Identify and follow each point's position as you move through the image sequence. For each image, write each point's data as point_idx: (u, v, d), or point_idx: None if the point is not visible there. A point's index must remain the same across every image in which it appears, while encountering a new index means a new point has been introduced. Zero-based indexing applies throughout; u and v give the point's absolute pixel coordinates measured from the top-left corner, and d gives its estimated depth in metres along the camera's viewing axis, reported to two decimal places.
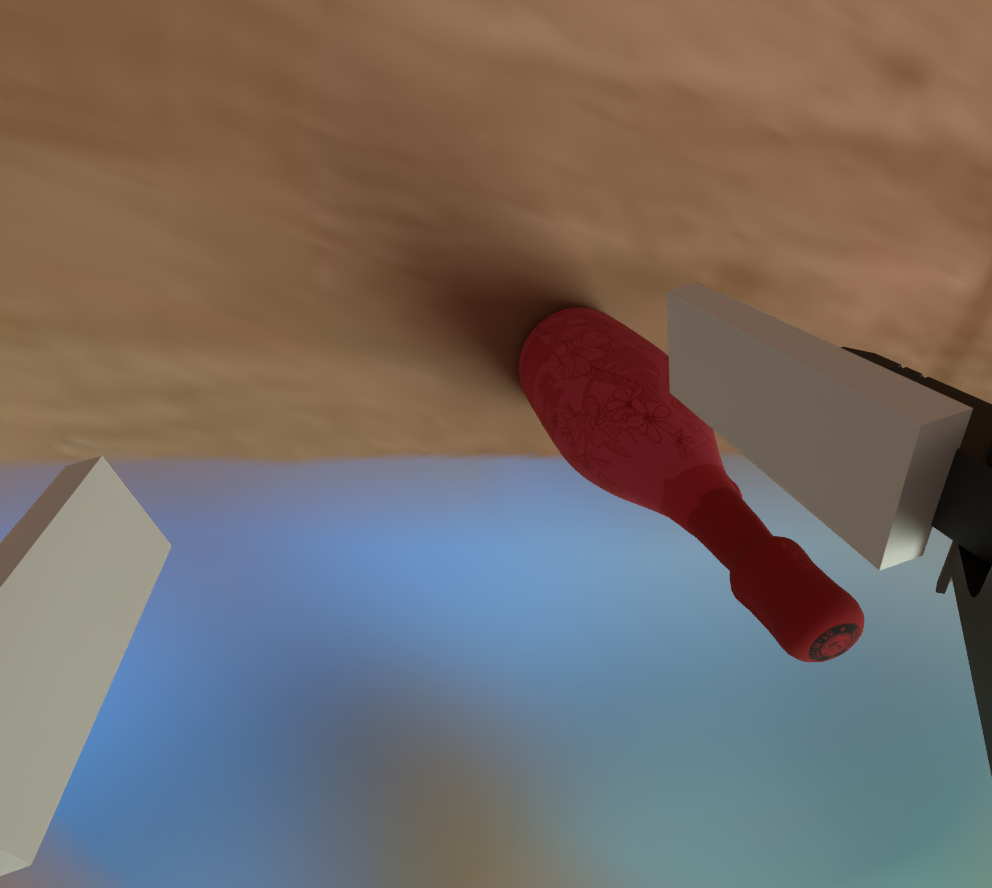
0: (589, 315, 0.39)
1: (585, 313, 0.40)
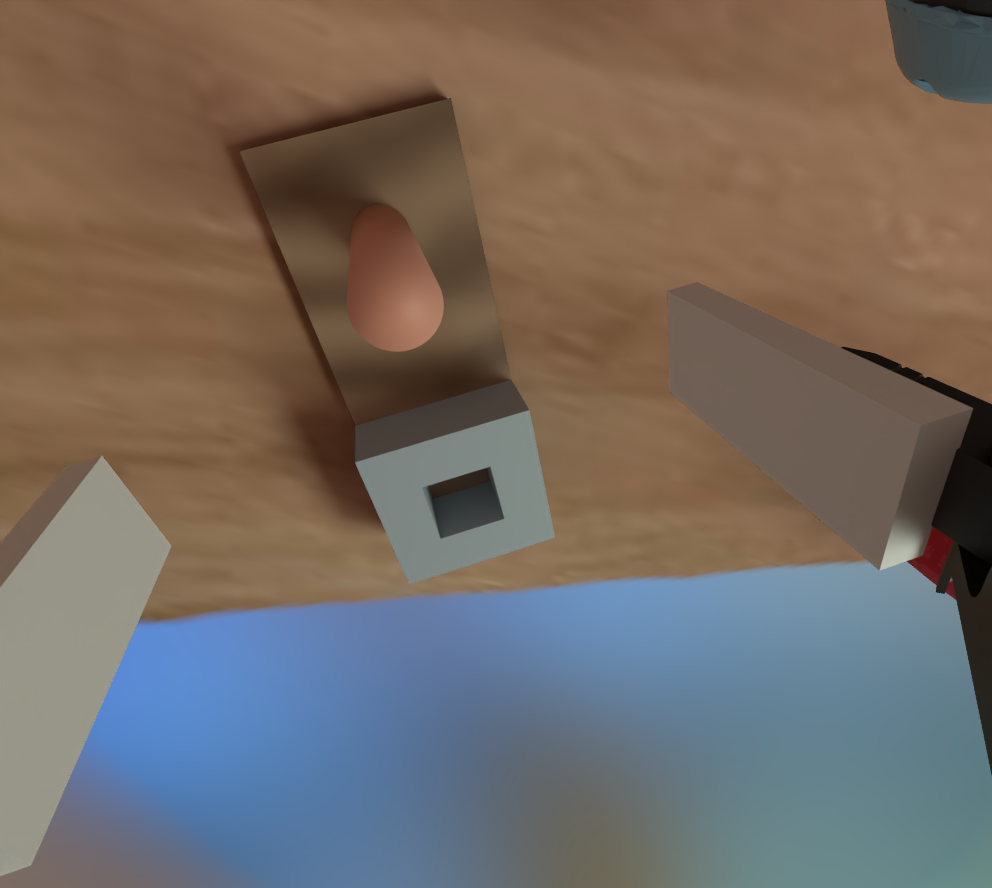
0: None
1: None
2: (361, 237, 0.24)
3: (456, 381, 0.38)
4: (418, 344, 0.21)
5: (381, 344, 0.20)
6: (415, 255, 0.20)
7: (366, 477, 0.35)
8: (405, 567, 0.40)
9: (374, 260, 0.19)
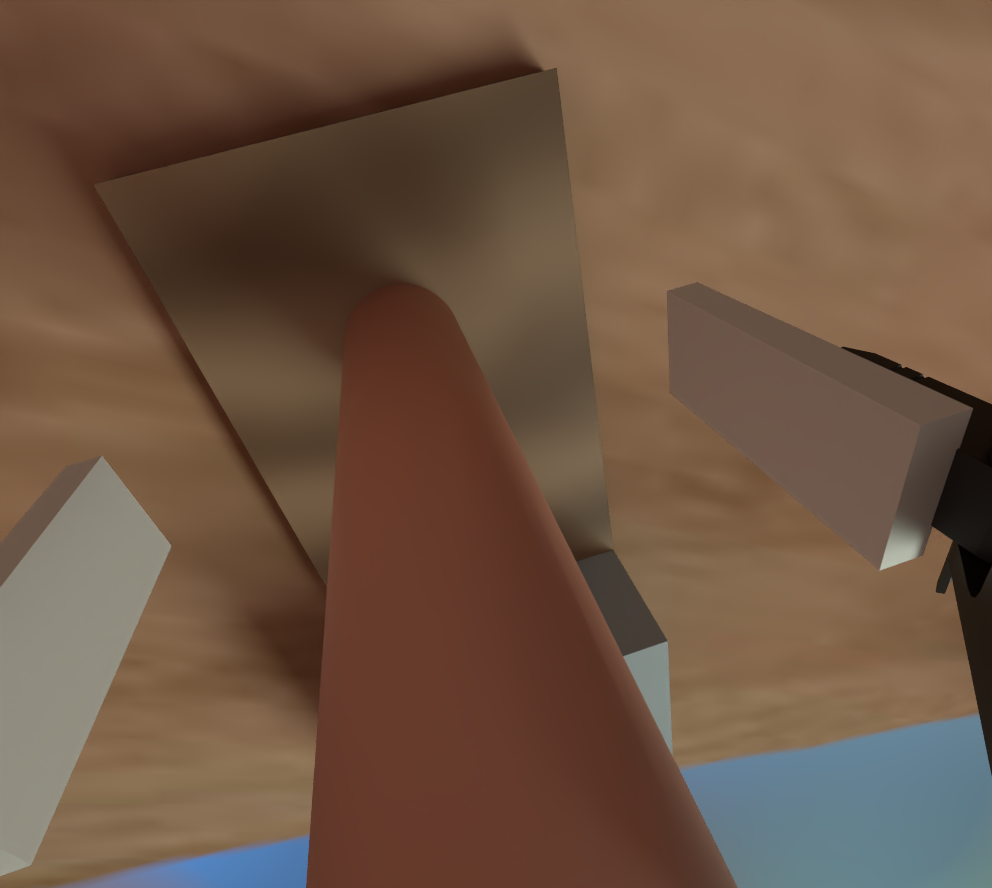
0: None
1: None
2: (366, 454, 0.08)
3: None
4: None
5: None
6: (608, 705, 0.05)
7: None
8: None
9: None
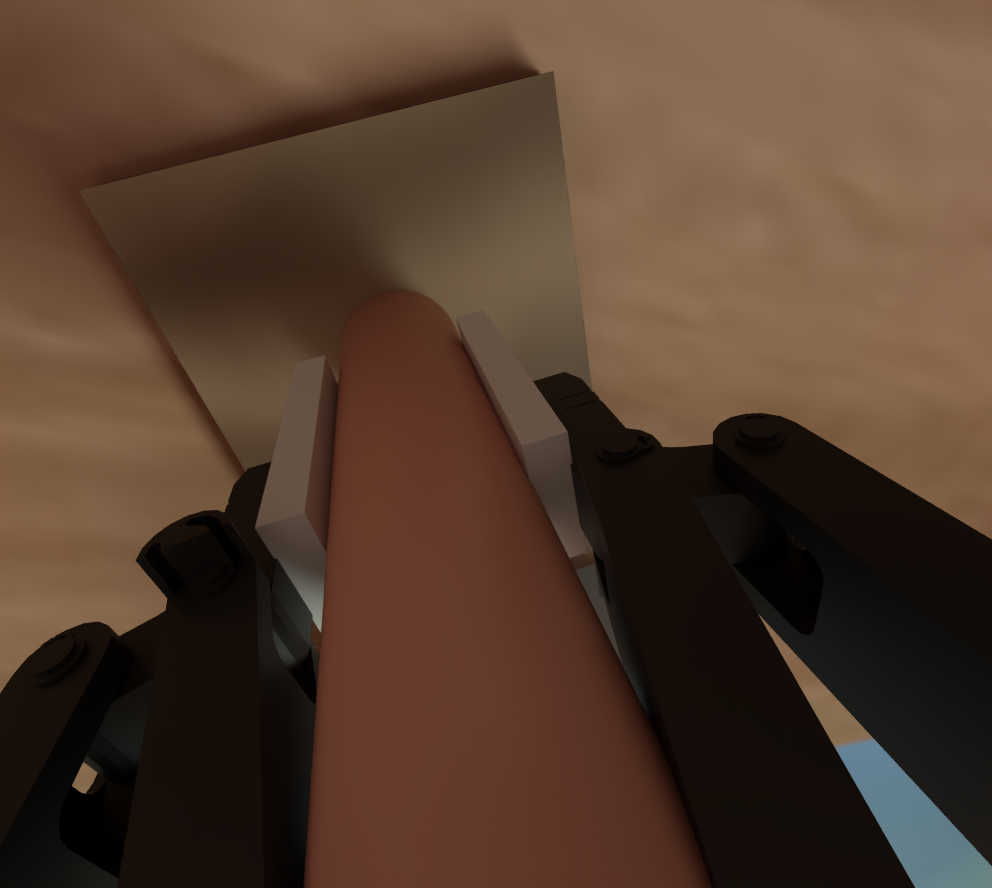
0: None
1: None
2: (363, 472, 0.08)
3: None
4: None
5: None
6: (622, 752, 0.04)
7: None
8: None
9: None
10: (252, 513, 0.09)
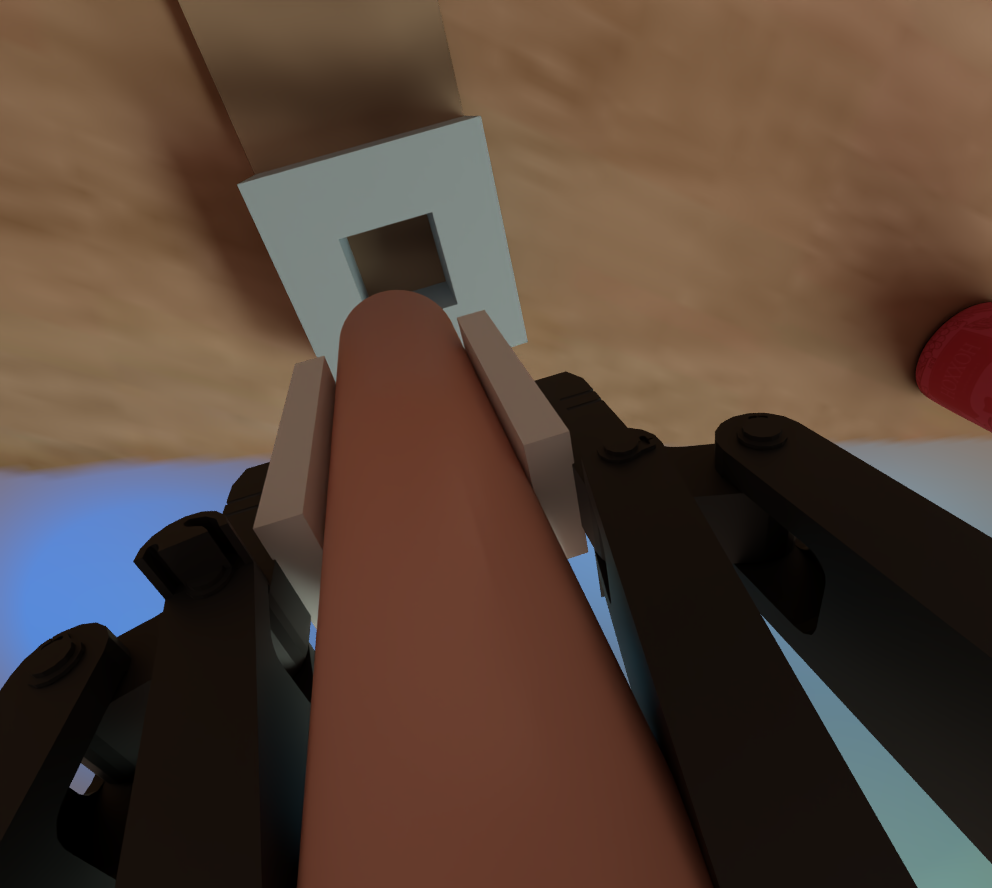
0: None
1: None
2: (360, 472, 0.08)
3: (389, 112, 0.29)
4: None
5: None
6: (619, 755, 0.04)
7: (257, 213, 0.25)
8: None
9: None
10: (250, 514, 0.09)
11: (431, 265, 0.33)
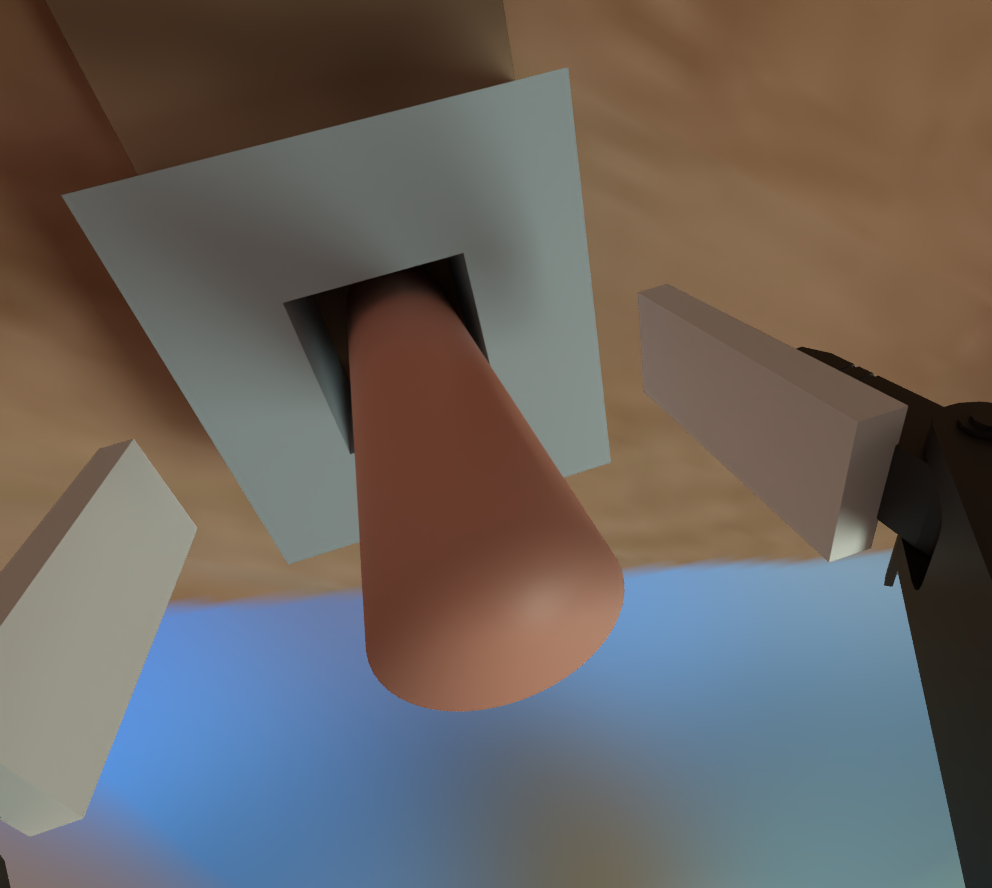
0: None
1: None
2: (379, 365, 0.11)
3: (383, 69, 0.16)
4: (546, 686, 0.08)
5: (454, 703, 0.08)
6: (541, 468, 0.08)
7: (111, 253, 0.12)
8: (272, 523, 0.17)
9: (451, 534, 0.06)
10: None
11: None
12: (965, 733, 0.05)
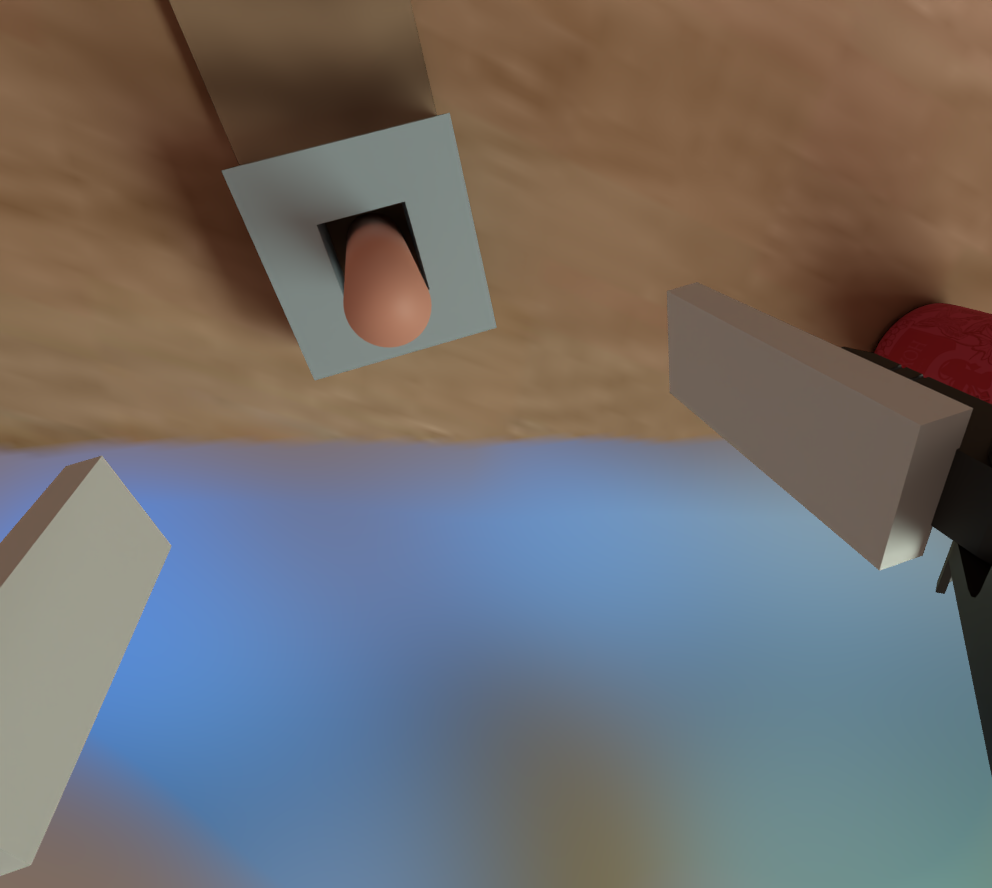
0: (968, 310, 0.45)
1: (960, 308, 0.46)
2: (356, 244, 0.26)
3: (366, 109, 0.31)
4: (408, 341, 0.23)
5: (374, 340, 0.22)
6: (405, 260, 0.22)
7: (240, 198, 0.27)
8: (307, 352, 0.32)
9: (368, 264, 0.21)
10: None
11: None
12: None
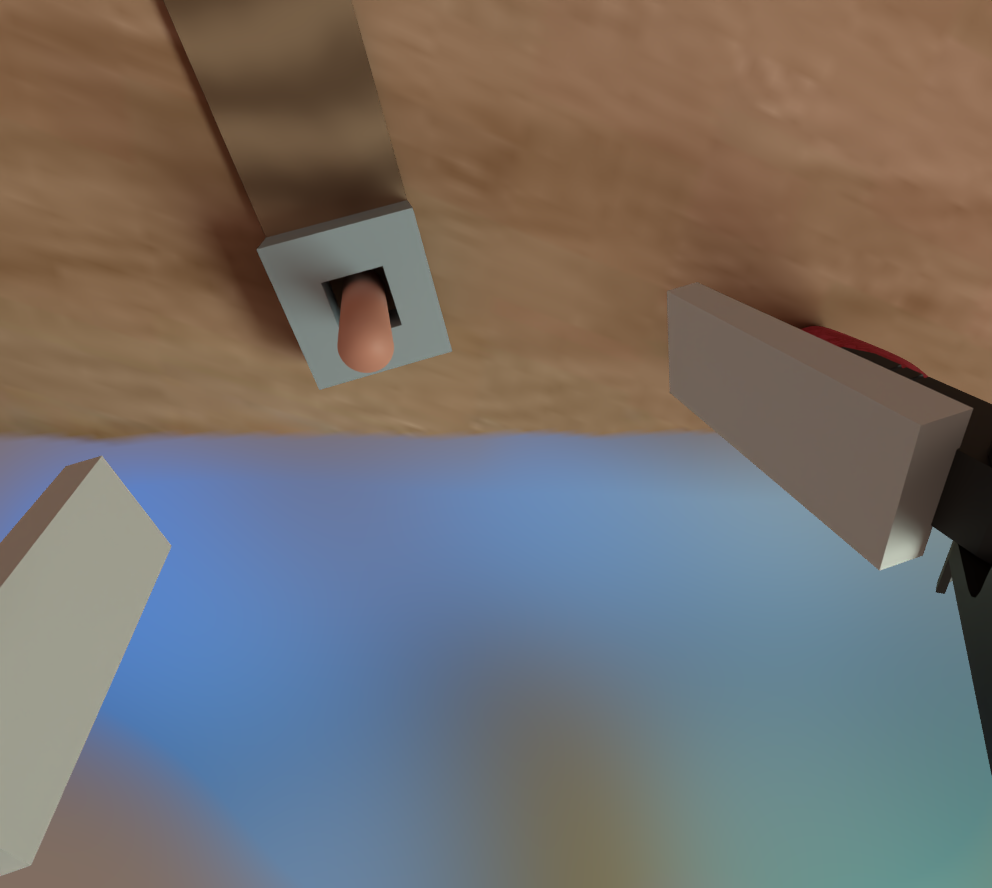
0: (832, 332, 0.58)
1: (827, 331, 0.58)
2: (347, 300, 0.38)
3: (356, 198, 0.43)
4: (379, 368, 0.35)
5: (357, 368, 0.35)
6: (377, 317, 0.35)
7: (268, 266, 0.40)
8: (314, 370, 0.45)
9: (352, 322, 0.33)
10: None
11: (387, 297, 0.48)
12: None
